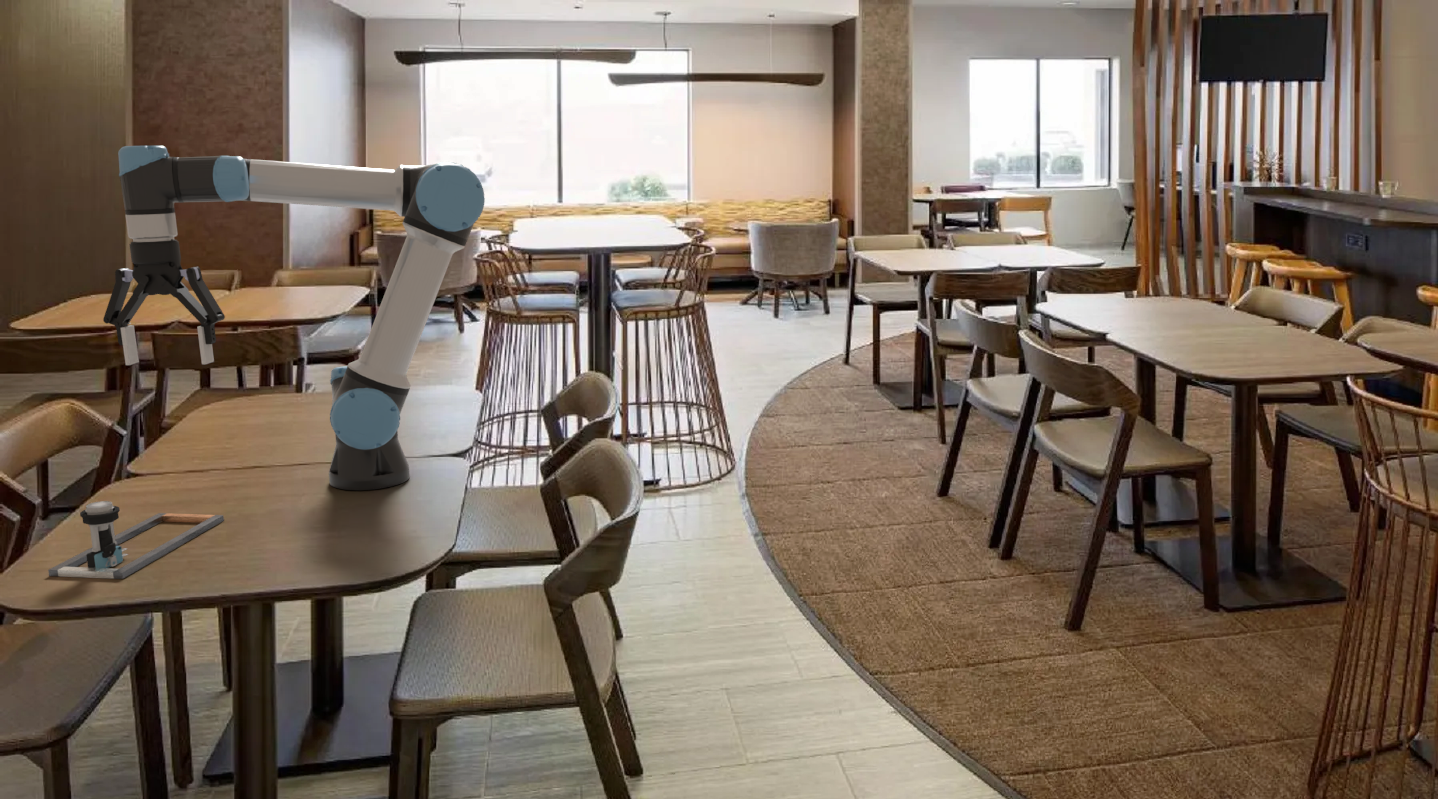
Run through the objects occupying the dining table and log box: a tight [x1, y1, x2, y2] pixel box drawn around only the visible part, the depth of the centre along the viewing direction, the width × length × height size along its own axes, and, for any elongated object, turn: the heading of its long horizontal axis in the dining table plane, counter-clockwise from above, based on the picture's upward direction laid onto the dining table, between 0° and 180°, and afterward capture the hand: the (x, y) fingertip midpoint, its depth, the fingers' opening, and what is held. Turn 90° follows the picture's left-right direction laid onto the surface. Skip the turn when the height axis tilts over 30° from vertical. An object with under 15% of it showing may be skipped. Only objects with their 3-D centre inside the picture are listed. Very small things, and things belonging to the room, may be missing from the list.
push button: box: [79, 500, 129, 568], centre depth 173 cm, size 7×5×10 cm
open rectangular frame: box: [47, 512, 225, 580], centre depth 182 cm, size 12×28×1 cm, turn 174°
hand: (170, 363), depth 192 cm, fingers open, 13 cm apart
